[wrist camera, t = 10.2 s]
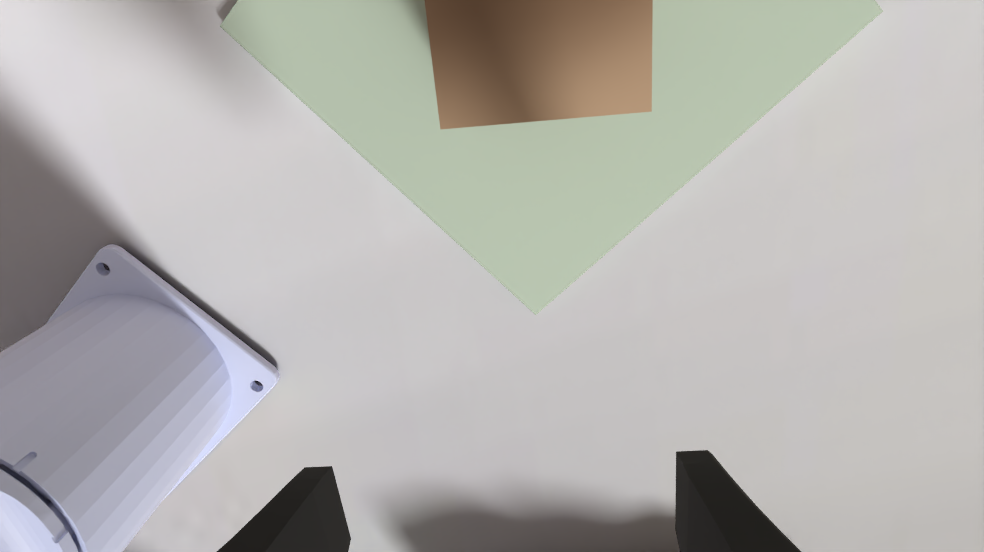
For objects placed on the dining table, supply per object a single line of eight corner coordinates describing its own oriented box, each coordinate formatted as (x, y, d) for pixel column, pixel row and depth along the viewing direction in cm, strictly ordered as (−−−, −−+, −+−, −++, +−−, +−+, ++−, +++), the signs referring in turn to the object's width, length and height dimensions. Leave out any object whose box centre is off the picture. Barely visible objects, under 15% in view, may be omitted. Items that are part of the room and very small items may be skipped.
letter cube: (622, 90, 18) (652, 111, 14) (463, 104, 19) (440, 129, 14) (621, -104, 17) (654, -153, 12) (443, -82, 17) (409, -122, 12)
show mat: (536, 310, 22) (535, 315, 22) (226, 26, 19) (219, 26, 19) (876, 11, 18) (883, 11, 17) (542, -427, 14) (542, -439, 14)
